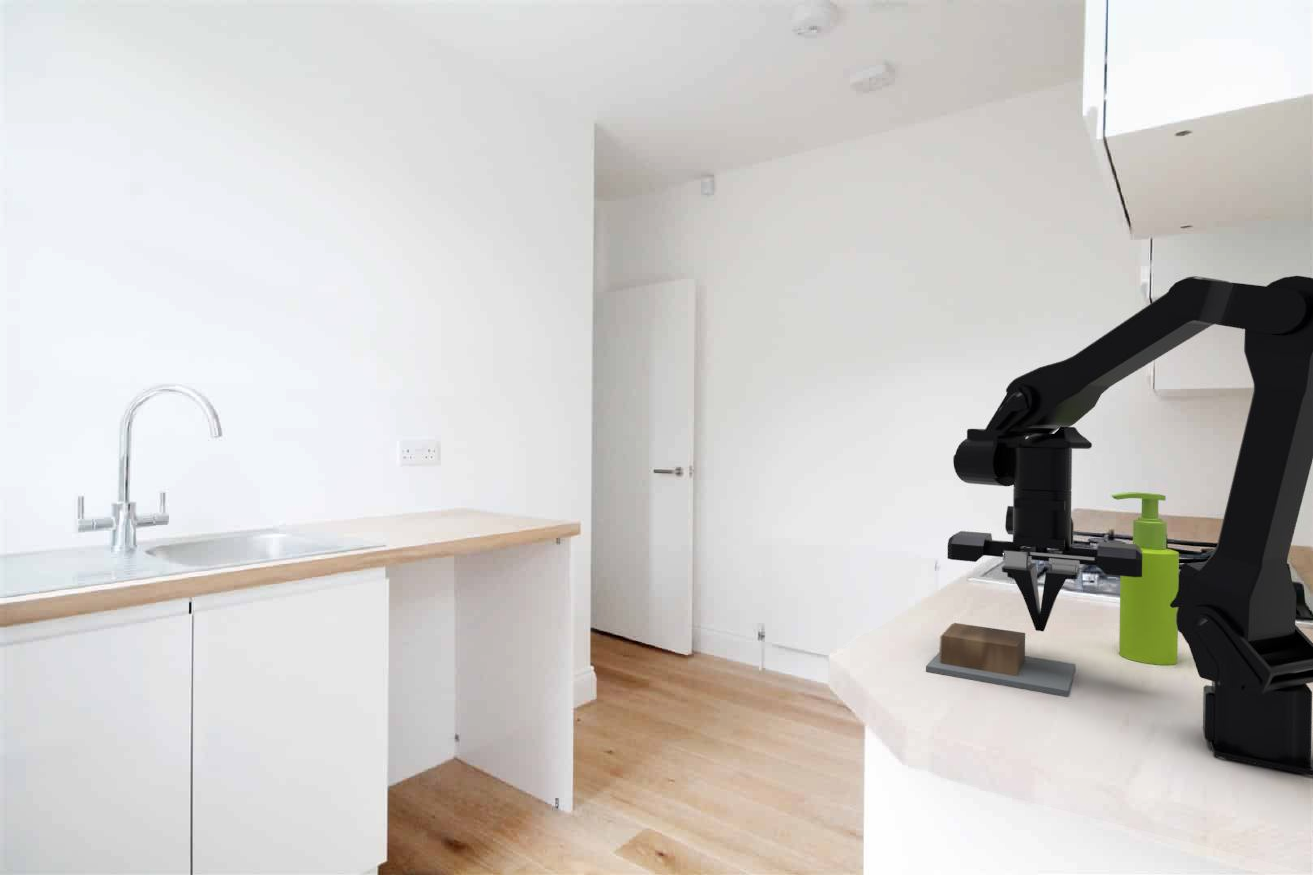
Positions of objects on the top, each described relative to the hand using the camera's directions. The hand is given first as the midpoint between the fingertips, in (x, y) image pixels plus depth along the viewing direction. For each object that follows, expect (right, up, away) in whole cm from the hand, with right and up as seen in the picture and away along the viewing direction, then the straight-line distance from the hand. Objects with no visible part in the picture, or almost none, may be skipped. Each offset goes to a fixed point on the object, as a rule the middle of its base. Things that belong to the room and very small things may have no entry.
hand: (1040, 630), depth 82 cm
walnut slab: (-2, -3, +1) cm, 3 cm away
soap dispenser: (+17, -6, +8) cm, 19 cm away
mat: (-3, -5, +2) cm, 6 cm away
